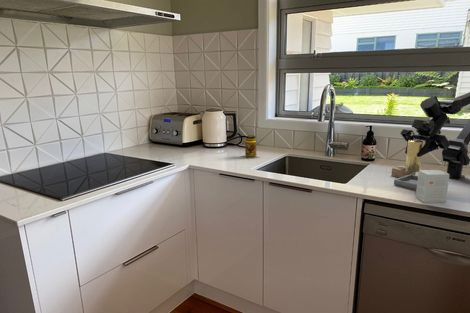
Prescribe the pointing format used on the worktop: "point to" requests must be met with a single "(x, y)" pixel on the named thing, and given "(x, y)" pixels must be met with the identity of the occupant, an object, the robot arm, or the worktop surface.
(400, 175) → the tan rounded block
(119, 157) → the worktop surface
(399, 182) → the tray
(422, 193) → the small box
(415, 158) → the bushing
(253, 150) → the condiment
